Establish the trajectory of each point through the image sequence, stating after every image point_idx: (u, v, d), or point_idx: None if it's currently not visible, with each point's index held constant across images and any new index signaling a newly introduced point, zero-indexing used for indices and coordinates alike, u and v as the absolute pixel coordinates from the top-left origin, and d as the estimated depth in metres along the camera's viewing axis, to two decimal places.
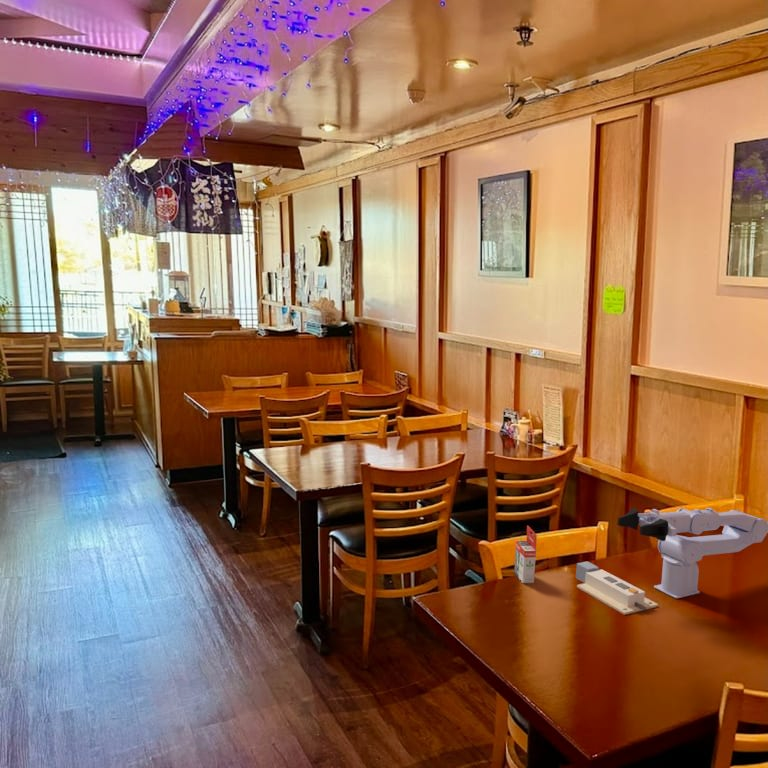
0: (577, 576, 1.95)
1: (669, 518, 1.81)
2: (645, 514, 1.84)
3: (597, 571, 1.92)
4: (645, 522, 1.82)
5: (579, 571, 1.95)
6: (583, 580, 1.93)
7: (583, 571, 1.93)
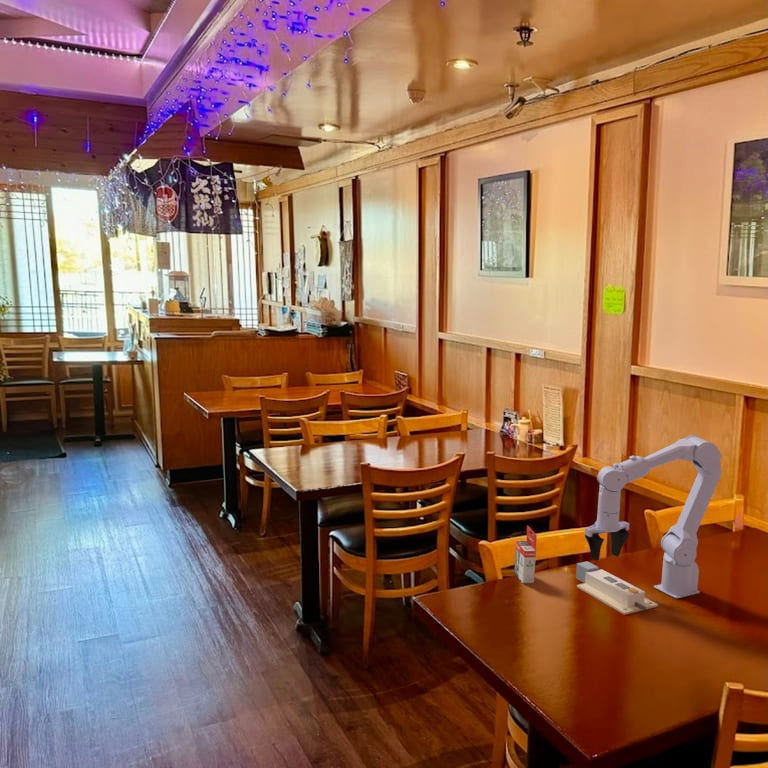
0: (577, 576, 1.95)
1: (597, 513, 1.87)
2: None
3: (597, 571, 1.92)
4: None
5: (579, 571, 1.95)
6: (583, 580, 1.93)
7: (583, 571, 1.93)
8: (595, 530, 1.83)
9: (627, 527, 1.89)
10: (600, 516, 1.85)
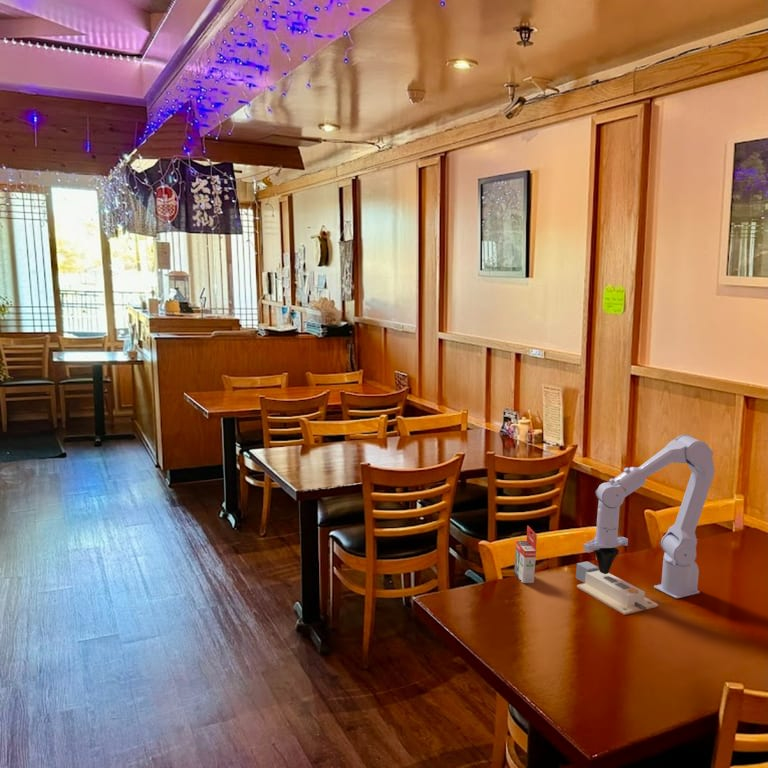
0: (577, 576, 1.95)
1: (596, 529, 1.88)
2: None
3: (597, 571, 1.92)
4: None
5: (579, 571, 1.95)
6: (583, 580, 1.93)
7: (583, 571, 1.93)
8: (594, 546, 1.84)
9: (626, 542, 1.89)
10: (599, 532, 1.85)
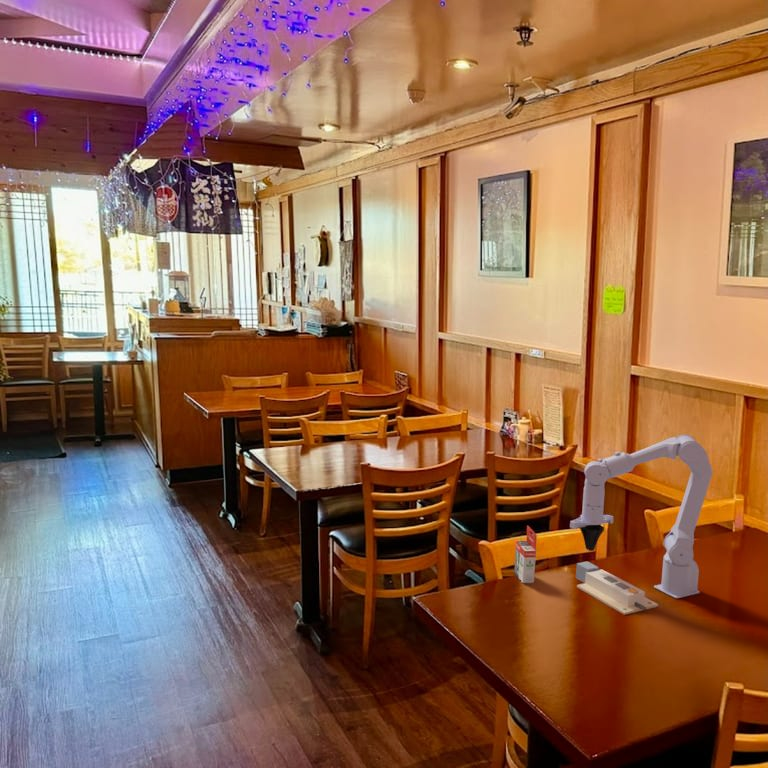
0: (577, 576, 1.95)
1: (582, 507, 1.92)
2: None
3: (597, 571, 1.92)
4: None
5: (579, 571, 1.95)
6: (583, 580, 1.93)
7: (583, 571, 1.93)
8: (580, 523, 1.88)
9: (611, 520, 1.94)
10: (585, 509, 1.90)
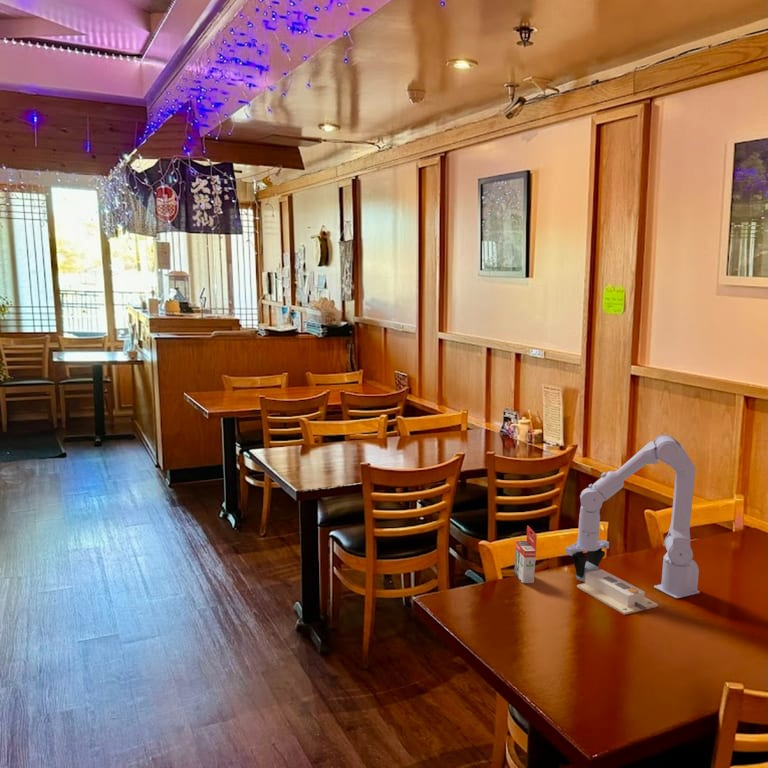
0: (577, 576, 1.95)
1: (578, 533, 1.94)
2: None
3: (597, 571, 1.92)
4: None
5: None
6: (583, 580, 1.93)
7: None
8: (575, 549, 1.90)
9: (607, 546, 1.96)
10: (581, 535, 1.92)
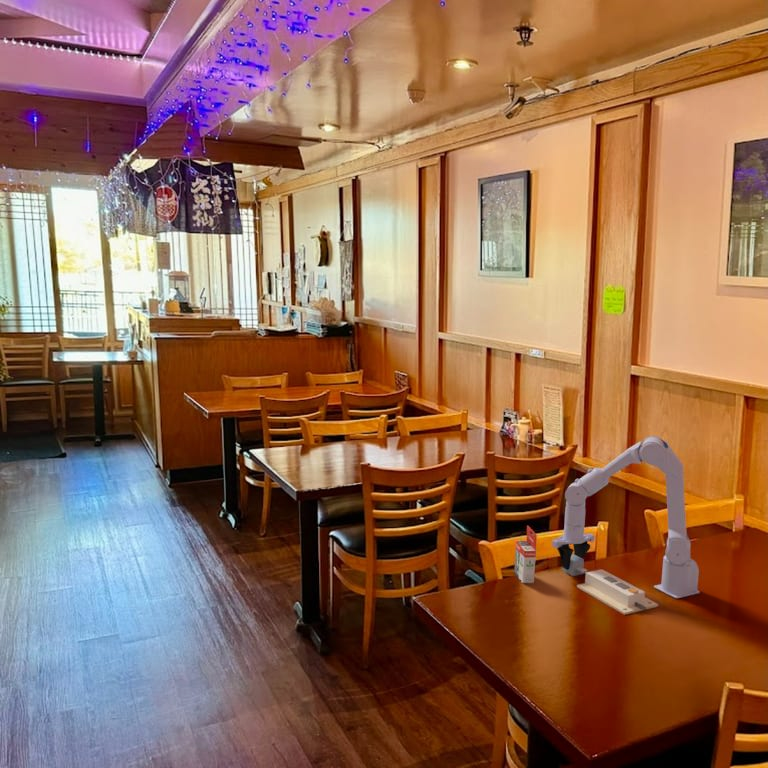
0: (563, 568, 2.01)
1: (564, 526, 2.00)
2: None
3: (597, 571, 1.92)
4: None
5: None
6: (569, 572, 1.99)
7: None
8: (561, 542, 1.96)
9: (592, 539, 2.01)
10: (567, 529, 1.97)
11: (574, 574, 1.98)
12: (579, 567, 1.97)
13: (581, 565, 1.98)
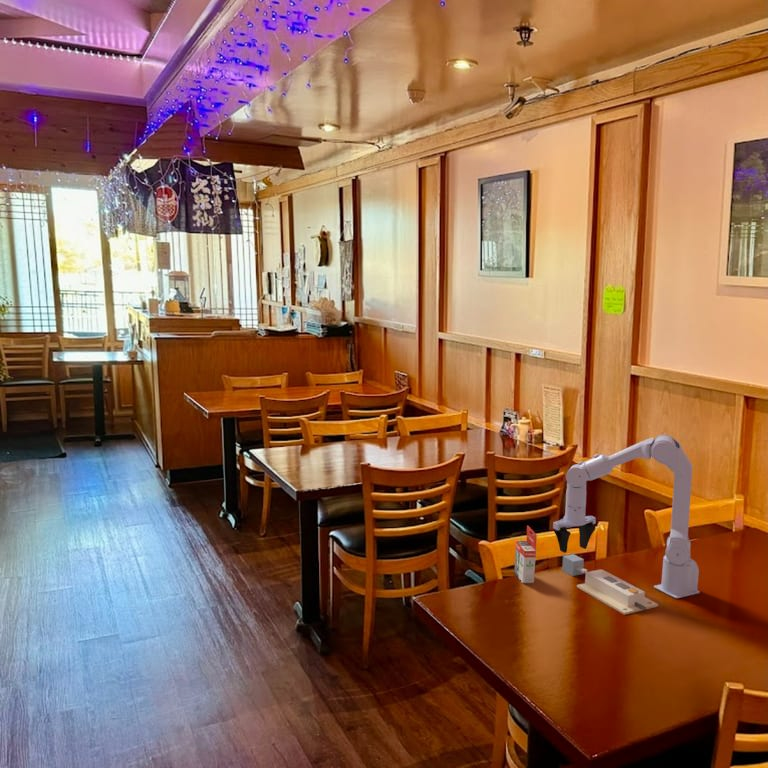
0: (563, 568, 2.01)
1: (565, 508, 1.99)
2: None
3: (597, 571, 1.92)
4: None
5: (565, 564, 2.00)
6: (569, 572, 1.99)
7: (569, 563, 1.98)
8: (563, 524, 1.95)
9: (594, 521, 2.01)
10: (568, 511, 1.97)
11: (574, 574, 1.98)
12: (579, 567, 1.97)
13: (581, 565, 1.98)
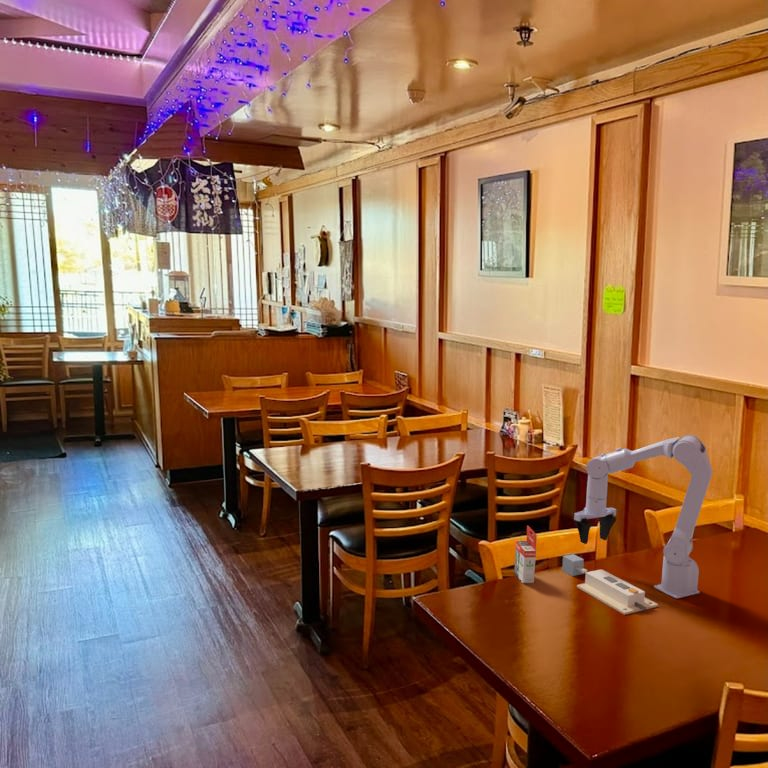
0: (563, 568, 2.01)
1: (586, 500, 1.99)
2: None
3: (597, 571, 1.92)
4: None
5: (565, 564, 2.00)
6: (569, 572, 1.99)
7: (569, 563, 1.98)
8: (584, 515, 1.96)
9: (614, 513, 2.01)
10: (589, 502, 1.97)
11: (574, 574, 1.98)
12: (579, 567, 1.97)
13: (581, 565, 1.98)
